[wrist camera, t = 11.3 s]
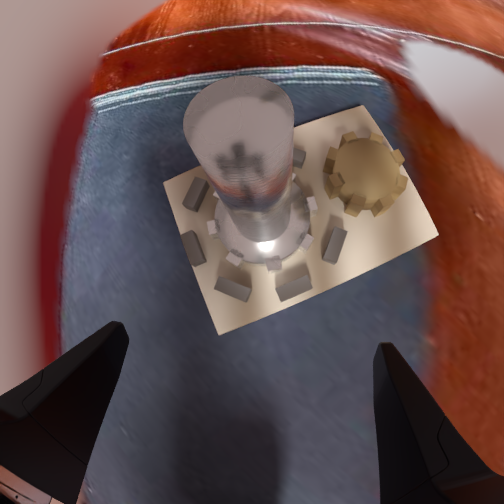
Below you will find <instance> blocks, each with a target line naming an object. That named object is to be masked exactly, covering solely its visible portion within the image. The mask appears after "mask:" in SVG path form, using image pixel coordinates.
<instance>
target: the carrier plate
mask: <svg viewBox="0 0 504 504" xmlns="http://www.w3.org/2000/svg"><path fill="white" fill-rule="evenodd" d="M404 161H405V159H404V158H403V156H402V154H401V153H400V151H399V149H397V150H394V151H393V149H392V147H391V146H390V144H389V143H388V141H387V140H386V138H385V136H384V135H383V133H382V132H381V130H380V129H379V127H378V126H377V124H376V123H375V121H374V120H373V118H372V117H371V116H370V114H369V113H368V111H367V110H366V108H365V107H364V106H363V105H362V106H358V107H355V108H352V109H349V110H345V111H342V112H339V113H336V114H333V115H330V116H327V117H323V118H320V119H317V120H315V121H312V122H309V123H306V124H303V125H300V126H297V127H294V138H293V169H292V173H294V174H296V184H297V186H298V187H299V188H300V189H301V190H302V192H303V193H304V195H305V197H306V198H308V197H313V196H314V197H315V201H316V204H317V208H318V210H317V214H316V216H313V217H310V224H309V229H308V233H307V234H309V235H311V236H312V237H314V240H313V242H312V244H311V246H310V247H309V249H308V251H307V252H306V254H305V253H303V252H301V251H300V250H298V251H297V252H296V253H295V254H294V255H293V256H292V257H291V258H289V259H287V260H286V261H284V262H282V263H281V265H282V271H280V272H275V273H271V274H269V273H268V270H267V266H254V265H250V264H247V263H244V265H243V266H242V268H241V269H239V268H238V267H236V266H234V265H233V264H231V263H230V262H228V261H227V260H226V257H227V255H228V254H229V250H228V249H227V248H226V247H225V246H224V245H223V243H222V242H221V240H220V239H216V240H214V239H213V238H212V237H211V236H210V235H209V231H208V226H207V222H208V221H212V220H215V209H216V205H217V201H216V199H215V198H214V196H213V194H214V192H215V189H214V187H213V186H212V184H211V182H210V180H209V178H208V177H207V175H206V173H205V171H204V170H203V168H202V166H201V165H200V166H198V167H195V168H193V169H191V170H189V171H187V172H184V173H182V174H180V175H178V176H176V177H174V178H172V179H169V180H167V181H165V182H163V184H164V187H165V190H166V193H167V196H168V199H169V202H170V205H171V208H172V211H173V214H174V217H175V220H176V223H177V226H178V229H179V231H180V234H181V235H180V237H181V240H182V243H183V245H184V248H185V251H186V254H187V257H188V259H189V262H190V265H192V268H193V270H194V273H195V276H196V278H197V281H198V284H199V286H200V289H201V292H202V294H203V297H204V299H205V302H206V305H207V307H208V310H209V312H210V315H211V317H212V320H213V322H214V325H215V327H216V330H217V332H218V335H221V334H224V333H226V332H229V331H231V330H234V329H236V328H239V327H241V326H244V325H246V324H249V323H251V322H254V321H256V320H259V319H261V318H264V317H266V316H268V315H271V314H273V313H276V312H278V311H280V310H283V309H285V308H287V307H290V306H292V305H294V304H297V303H299V302H301V301H304V300H306V299H308V298H310V297H313V296H315V295H317V294H319V293H322V292H324V291H326V290H328V289H330V288H333V287H335V286H337V285H339V284H341V283H343V282H346V281H348V280H350V279H352V278H354V277H356V276H358V275H360V274H363V273H365V272H367V271H369V270H371V269H373V268H375V267H377V266H379V265H381V264H383V263H385V262H387V261H389V260H391V259H393V258H395V257H397V256H399V255H401V254H403V253H405V252H407V251H409V250H411V249H413V248H415V247H417V246H419V245H421V244H423V243H425V242H427V241H428V240H430V239H432V238H434V237H436V236H438V235H439V234H438V232H437V230H436V228H435V226H434V224H433V222H432V219H431V217H430V215H429V213H428V211H427V209H426V208H425V206H424V204H423V202H422V200H421V198H420V196H419V194H418V192H417V190H416V189H415V187H414V185H413V183H412V181H411V180H410V178H409V176H408V174H407V173H406V171H405V169H404V167H403V166H402V163H403V162H404Z"/></svg>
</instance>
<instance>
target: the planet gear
mask: <svg viewBox="0 0 504 504" xmlns="http://www.w3.org/2000/svg"><path fill="white" fill-rule="evenodd" d="M183 130H184V134H185V137H186V139H187V141H188V143H189V145H190V147H191V148H192V150H193V152H194V154H195V155H196V157H197V159H198V161H199V163H200V164H201V166H202V168H203V170H204V171H205V173H206V175H207V177H208V178H209V180H210V182H211V184H212V186H213V187H214V189H215V192H214V194H213V196H214V198H215V199H216V201H217V205H216V209H215V220H212V221H208V222H207V226H208V231H209V235H210V236H211V237H212V238H213V239H214V240H216V239H220V240H221V242H222V243H223V245H224V246H225V247H226V248H227V249H228V250H229V254H228V255H227V257H226V260H227V261H228V262H230V263H231V264H233V265H234V266H236V267H238V268H239V269H241V268H242V266H243V265H244V263H247V264H250V265H254V266H267V270H268V273H269V274H271V273H275V272H280V271H282V265H281V263H282V262H284V261H286V260H287V259H289V258H291V257H292V256H293V255H294V254H295V253H296V252H297V251H298V250H300V251H301V252H303V253H305V254H306V252H307V251H308V249H309V247H310V246H311V244H312V242H313V240H314V237H312V236H311V235H309V234H307V233H308V229H309V224H310V217H313V216H316V214H317V210H318V208H317V204H316V201H315V197H314V196H313V197H308V198H306V197H305V195H304V193H303V192H302V190H301V189H300V188H299V187H298V186H297V184H296V174H294V173H292V169H293V138H294V109H293V105H292V102H291V100H290V98H289V97H288V95H287V94H286V93H285V92H284V91H283V89H281V88H280V87H279V86H278V85H276V84H274V83H273V82H271V81H269V80H266V79H263V78H260V77H255V76H233V77H228V78H225V79H221V80H219V81H216V82H214V83H212V84H210V85H208V86H207V87H205V88H204V89H203V90H201V91H200V92H199V93H198V94H197V95H196V96H195V97H194V98H193V100H192V101H191V102H190V104H189V106H188V107H187V110H186V112H185V115H184V121H183Z"/></svg>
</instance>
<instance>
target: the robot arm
mask: <svg viewBox="0 0 504 504" xmlns="http://www.w3.org/2000/svg"><path fill="white" fill-rule="evenodd" d="M128 345H129V337H128V334H127V332H126V330H125V327H124V325H123V323H121V322H117V321H111V322H110V323H108V324H107V325H105V326H104V327H102V328H101V329H99V330H98V331H96V332H95V333H94V334H92V335H91V336H89V337H88V338H86V339H85V340H83V341H82V342H81V343H79V344H78V345H76V346H75V347H73V348H72V349H71V350H69V351H68V352H66V353H65V354H63V355H62V356H61V357H59V358H58V359H56V360H55V361H54V362H52V363H51V364H49V365H48V366H47V367H45V368H44V369H42V370H41V371H39V372H38V373H37V374H35V375H33V376H32V377H31V378H29V379H28V380H26V381H24V382H23V383H21V384H20V385H18V386H16V387H15V388H13V389H11V390H9V391H8V392H6V393H4V394H3V395H1V396H0V504H50V502H51V499H52V497H53V498H54V499H56V500H58V501H60V502H62V503H64V504H76V502H77V499H78V495H79V492H80V489H81V485H82V482H83V479H84V476H85V472H86V469H87V465H88V463H89V460H90V456H91V453H92V450H93V447H94V445H95V442H96V439H97V436H98V433H99V430H100V427H101V424H102V422H103V419H104V416H105V413H106V411H107V408H108V405H109V403H110V400H111V397H112V395H113V392H114V389H115V387H116V384H117V382H118V379H119V376H120V373H121V369H122V366H123V362H124V358H125V355H126V351H127V348H128ZM373 385H374V396H373V398H374V414H375V424H376V434H377V446H378V460H379V477H380V504H504V476H501V475H499V474H497V473H495V472H494V471H492V470H491V469H490V468H489V467H488V466H487V465H486V464H485V463H484V462H483V461H482V460H481V459H480V457H479V456H478V455H477V454H476V453H475V452H474V450H473V449H472V448H471V447H470V446H469V445H468V444H467V442H466V441H465V440H464V439H463V438H462V436H461V435H460V434H459V433H458V431H457V430H456V429H455V427H454V426H453V425H452V423H451V422H450V420H449V419H448V418H447V416H445V414H444V412H443V411H442V409H441V408H440V407H439V405H438V404H437V402H436V401H435V400H434V398H433V397H432V395H431V394H430V393H429V391H428V390H427V389H426V387H425V386H424V385H423V383H422V382H421V380H420V379H419V378H418V376H417V375H416V374H415V372H414V371H413V370H412V368H411V367H410V366H409V364H408V363H407V362H406V360H405V359H404V358H403V357H402V355H401V354H400V353H399V351H398V350H397V349H396V347H395V346H394V345H393V344H392V343H391V342H381V343H379V345H378V348H377V351H376V354H375V356H374V361H373Z"/></svg>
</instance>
